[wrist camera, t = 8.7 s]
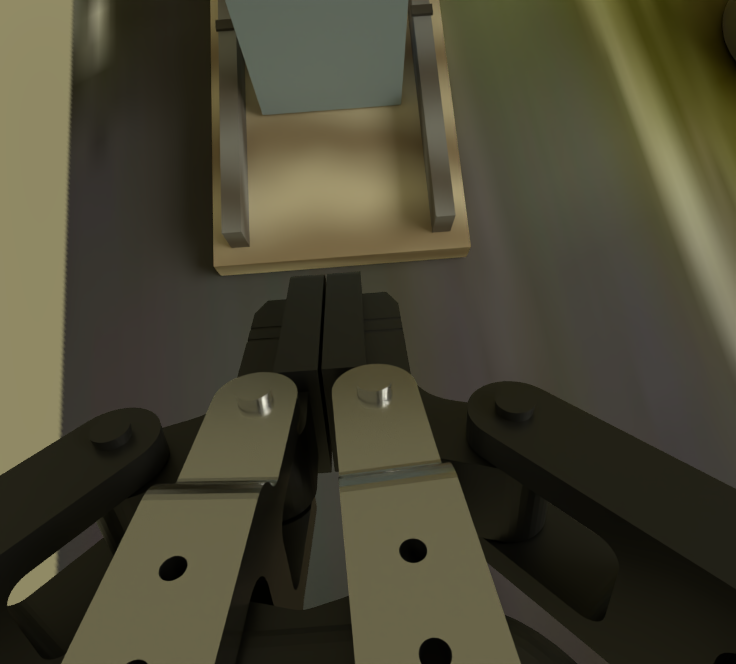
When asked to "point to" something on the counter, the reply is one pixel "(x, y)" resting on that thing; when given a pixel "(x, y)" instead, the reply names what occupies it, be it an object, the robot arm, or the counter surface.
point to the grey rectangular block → (322, 52)
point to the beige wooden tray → (336, 167)
